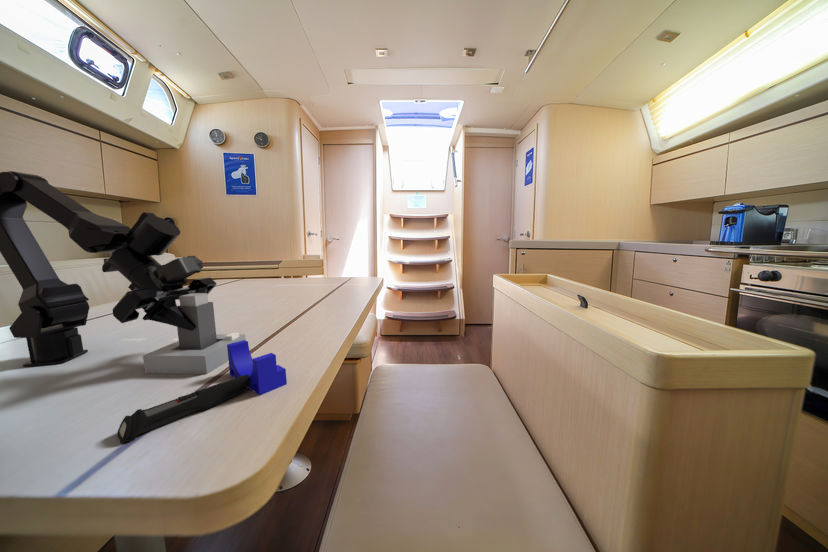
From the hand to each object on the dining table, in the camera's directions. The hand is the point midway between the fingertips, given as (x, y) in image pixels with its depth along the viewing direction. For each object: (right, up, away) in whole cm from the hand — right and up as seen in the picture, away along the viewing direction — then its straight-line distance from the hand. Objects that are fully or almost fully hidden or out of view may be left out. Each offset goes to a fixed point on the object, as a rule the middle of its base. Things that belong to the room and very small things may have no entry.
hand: (203, 325), depth 59 cm
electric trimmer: (+10, -10, -17) cm, 22 cm away
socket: (-1, -7, +1) cm, 8 cm away
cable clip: (+15, -9, -7) cm, 19 cm away
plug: (-1, -7, +1) cm, 7 cm away
